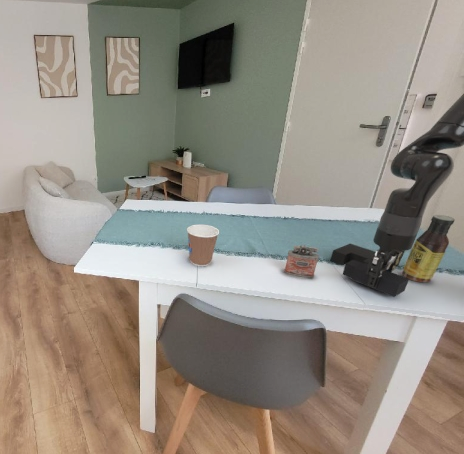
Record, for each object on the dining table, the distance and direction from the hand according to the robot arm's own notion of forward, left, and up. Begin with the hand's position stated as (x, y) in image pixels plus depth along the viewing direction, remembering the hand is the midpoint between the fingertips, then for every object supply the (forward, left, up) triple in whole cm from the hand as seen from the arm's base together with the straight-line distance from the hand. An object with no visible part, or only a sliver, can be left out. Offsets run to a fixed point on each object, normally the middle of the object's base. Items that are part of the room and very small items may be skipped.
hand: (377, 283), depth 82 cm
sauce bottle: (-3, -16, -2) cm, 17 cm away
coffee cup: (+37, +31, -2) cm, 48 cm away
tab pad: (+1, 0, -1) cm, 1 cm away
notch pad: (+9, -11, -2) cm, 15 cm away
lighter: (+15, +11, -2) cm, 19 cm away
